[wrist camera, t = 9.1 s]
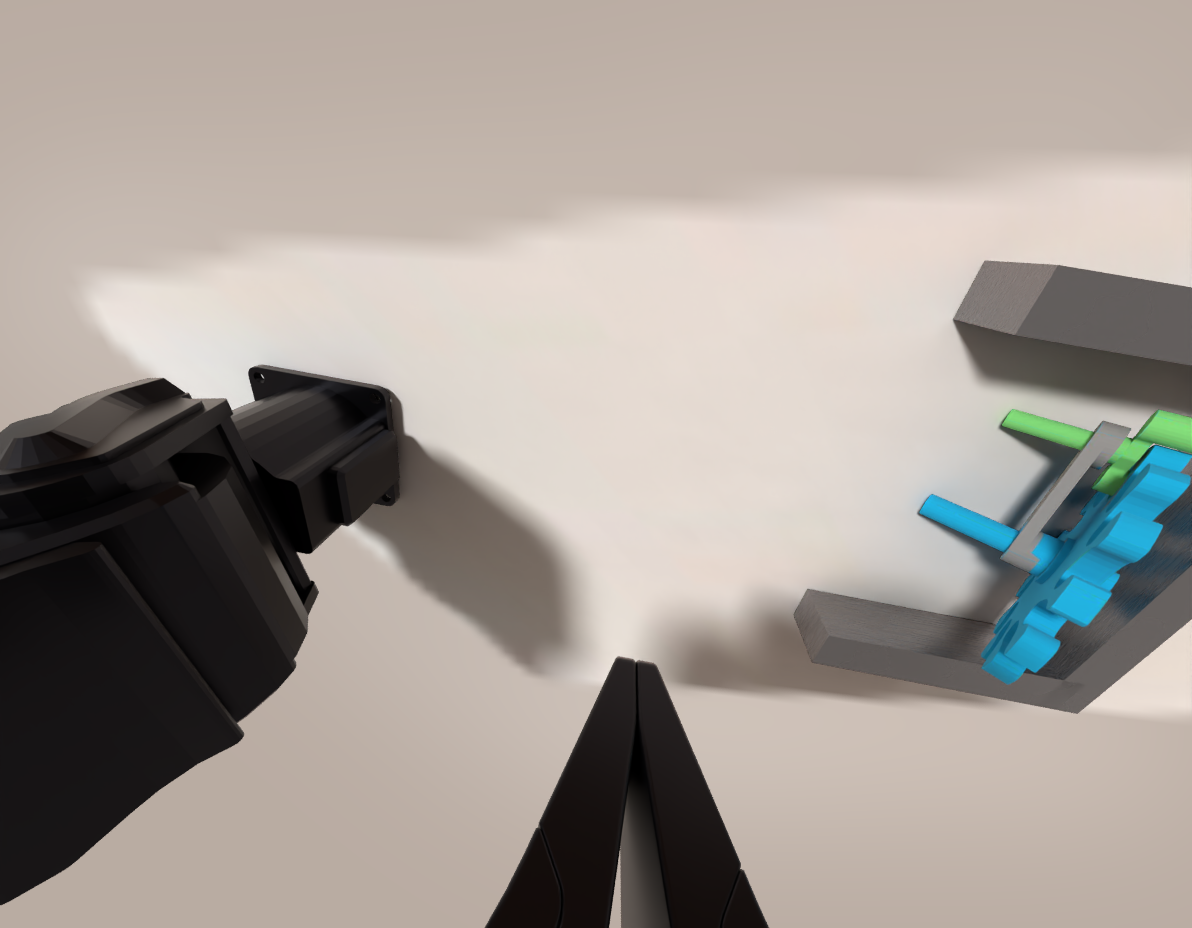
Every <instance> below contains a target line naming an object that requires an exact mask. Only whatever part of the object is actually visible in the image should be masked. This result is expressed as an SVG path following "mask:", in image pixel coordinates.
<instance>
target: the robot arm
mask: <svg viewBox="0 0 1192 928" xmlns="http://www.w3.org/2000/svg"><path fill="white" fill-rule="evenodd" d="M248 374H249V379H250V383H251V387H252V391H253V395H254V399H255V401H254V402H252V403H249V404H247V405H244V406H242V407H239V408H237V409H234V410H231V408H230V406H229V403H228V401H227V399H224V398H221V399H192V398H191V396H190V394H189V393H185V392H183V391H182V390H180V389H179V388H177V387H176V386H175V385H173V384H172V383H170V382H169V381H167V380H166V379H164V378H147V379H143V380H139V381H136V382H132V383H129V384H125V385H121V386H118V387H114V388H111V389H107V390H104V391H100V392H97V393H94V394H91V395H88V396H86V397H83V398H80V399H78V400H76V401H74V402H72V403H70V404H66V405H63V406H61V407H59V408H58V409H57V410H55V411H53V412H52V413H50V414H45V415H41V416H36V417H32V418H28V419H24V420H21V421H17V422H15V423H12V424H10V425H9V426H8V427H7V428H5V429H4V430H3V431H2V432H0V905H3V904H5V903H7V902H9V901H11V900H13V899H14V898H16V897H18V896H20V895H21V894H23V893H25V892H27V891H28V890H30V889H32V888H34V887H35V886H37V885H39V884H41V883H42V882H44V881H46V880H48V879H50V878H51V877H53V876H55V875H56V874H58V873H60V872H62V871H63V870H65V869H66V868H68V867H69V866H71V865H72V864H73V863H74V862H76V861H77V860H78V859H79V858H80V857H81V856H82V855H84V854H85V853H86V852H87V851H88V850H89V849H90V848H91V847H93V846H94V845H95V844H96V843H97V842H98V841H99V840H101V839H102V838H103V837H104V836H105V835H106V834H108V833H109V832H110V831H111V830H112V829H113V828H114V827H116V826H117V825H118V824H119V823H120V822H121V821H122V820H124V819H125V818H126V817H127V816H128V815H129V814H130V813H132V812H133V811H134V810H135V809H136V808H138V807H139V806H140V805H141V804H143V803H144V802H145V801H146V800H148V799H149V798H150V797H151V796H152V795H154V794H155V793H156V792H157V791H159V790H160V789H161V788H163V787H164V786H166V785H167V784H169V783H170V782H171V781H173V780H174V779H176V778H178V777H179V776H181V775H182V774H184V773H185V772H186V771H188V770H189V769H191V768H192V767H194V766H195V765H197V764H198V763H200V762H202V761H204V760H206V759H208V758H210V757H212V756H214V755H216V754H218V753H219V752H222V751H224V750H226V749H228V748H229V747H232V746H233V745H235V744H237V743H238V742H239V741H240V740H241V739H242V738H243V736H244V732H243V731H242V729H241V728H240V727H239V725H238V724H237V723H238V722H239V721H241V720H242V719H244V718H245V717H247V716H248V715H249V714H250V713H251V712H252V711H254V710H255V709H256V708H257V707H258V706H259V705H260V704H262V702H264V701H265V700H266V699H267V698H269V696H271V695H272V694H273V693H274V692H275V691H276V690H277V689H278V688H279V687H280V686H281V685H282V684H283V682H284V681H285V680H286V679H287V678H288V677H289V675H290V674H291V673H292V672H293V671H294V669H295V668H296V661H295V660H294V658H295V657H296V655H297V653H298V651H299V649H300V647H301V644H302V643H303V641H304V639H305V636H306V634H307V630H308V615H309V613H310V610H311V608H312V606H313V604H314V602H315V600H316V598H317V595H318V593H319V591H318V589H317V587H316V585H315V583H314V581H310V579H309V577H308V575H307V573H306V571H305V569H304V567H303V564H302V562H301V560H300V558H299V556H298V554H297V552H300V553H305V554H310V553H312V552H313V551H314V550H315V549H316V548H317V547H318V546H319V545H320V544H322V543H323V542H324V541H325V540H326V539H327V538H328V537H329V536H330V535H331V534H332V533H333V532H334V531H335V530H337V529H338V528H339V527H340V526H341V525H344V526H349V525H351V524H352V523H353V522H355V521H356V520H357V519H358V518H359V517H360V516H361V515H362V514H363V513H364V512H365V511H366V510H367V509H368V508H369V507H370V506H371V505H372V504H373V503H374V504H380V505H385V506H391V505H393V504H394V503H395V502H396V501H397V500H398V499H399V487H398V479H399V478H400V474H399V463H398V452H397V441H396V435H395V433H394V432H393V423H392V412H391V402H390V396H389V393H388V392H387V390H386V389H384V388H383V387H381V386H377V385H372V384H366V383H361V382H355V381H350V380H344V379H339V378H333V377H328V376H322V375H317V374H311V373H306V372H300V371H295V370H289V369H284V368H278V367H273V366H267V365H258V366H255V367H252V368H250V369H249V372H248ZM261 374H262V375H263V377H264V378H262V376H261ZM374 394H377V395H378V396H379V397H380V401H379V400H377V399H376V398H375V395H374ZM386 494H387V495H389V496H390V498H389V497H388V496H387V495H386ZM620 848H621V849H620ZM619 851H620V852H621V853H620V854H621V928H769V927H768V925H767V922H766V921H765V918H764V916H763V914H762V911H761V909H760V907H759V905H758V902H757V900H756V898H755V895H754V893H753V891H752V888H751V886H750V884H749V881H748V879H747V877H746V874H745V872H744V870H742V869H740V867H741V863H740V861H739V858H738V856H737V853H736V851H735V849H734V846H733V844H732V842H731V839H730V837H729V835H728V832H727V830H726V828H725V825H724V823H723V820H722V818H721V816H720V813H719V811H718V809H717V806H716V804H715V802H714V799H713V797H712V795H711V792H710V790H709V788H708V785H707V783H706V780H705V778H704V776H703V774H702V771H701V769H700V766H699V764H698V762H697V759H696V757H695V755H694V752H693V750H692V747H691V745H690V743H689V741H688V738H687V736H686V733H685V731H684V729H683V726H682V724H681V721H680V719H679V717H678V715H677V712H676V710H675V707H674V705H673V703H672V700H671V698H670V696H669V693H668V691H667V688H666V686H665V684H664V681H663V679H662V677H661V674H660V672H659V670H658V668H657V666H656V665H655V664H654V663H650V662H645V661H640V660H638V661H637V662H635V660H633V659H630V658H625V657H617V658H616V659H615V661H614V663H613V665H612V667H611V670H610V672H609V674H608V676H607V678H606V680H605V682H604V685H603V687H602V689H601V691H600V693H599V695H598V697H597V700H596V702H595V704H594V706H593V708H592V710H591V712H590V715H589V717H588V719H587V721H586V723H585V725H584V727H583V730H582V732H581V734H580V736H579V738H578V740H577V743H576V745H575V747H574V749H573V751H572V753H571V755H570V757H569V760H568V762H567V764H566V766H565V768H564V770H563V772H562V774H561V777H560V779H559V781H558V783H557V785H556V787H555V790H554V792H553V794H552V796H551V798H550V800H549V802H548V805H547V807H546V809H545V811H544V813H543V815H542V817H541V819H540V822H539V825H538V828H536V830H535V832H534V834H533V836H532V838H531V840H530V842H529V845H528V847H527V849H526V851H525V853H524V855H523V857H522V859H521V861H520V863H519V865H518V867H517V869H516V871H515V873H514V875H513V877H512V879H511V881H510V883H509V885H508V887H507V889H506V891H505V893H504V894H503V896H502V898H501V900H500V902H499V903H498V905H497V907H496V909H495V910H494V912H493V914H492V916H491V917H490V919H489V921H488V923H487V925H486V926H485V928H609V924H610V916H611V909H612V902H613V895H614V887H615V879H616V872H617V865H618V858H619Z"/></svg>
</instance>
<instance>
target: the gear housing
mask: <svg viewBox="0 0 1192 928" xmlns="http://www.w3.org/2000/svg"><path fill="white" fill-rule="evenodd" d="M954 320H958V321H962V322H965V323H969V324H973V325H977V326H981V327H985V328H989V329H993V330H996V331H1000V332H1004V333H1008V334H1012V335H1016V336H1022V337H1028V338H1034V339H1040V340H1045V341H1051V342H1057V343H1063V344H1069V345H1074V346H1080V347H1086V348H1092V349H1098V350H1103V351H1109V352H1115V353H1121V354H1126V355H1132V356H1138V357H1144V358H1150V359H1155V360H1161V361H1167V362H1173V363H1179V364H1184V365H1190V366H1192V288H1191V287H1185V286H1179V285H1173V284H1168V283H1162V282H1156V281H1150V280H1144V279H1138V278H1132V277H1126V276H1120V275H1114V274H1108V273H1102V272H1096V271H1090V270H1084V269H1078V268H1072V267H1066V266H1060V265H1048V264H1031V263H1015V262H998V261H984V263H983V265H982V267H981V269H980V271H979V272H978V274H977V276H976V278H975V280H974V282H973V284H972V285H971V287H970V289H969V291H968V293H967V295H966V296H965V298H964V300H963V302H962V304H961V306H960V308H959V309H958V311H957V313H956V315H955V317H954ZM1179 451H1180V450H1179ZM1181 452H1184V451H1181ZM1184 453H1188V452H1184ZM1188 454H1191V453H1188ZM1191 455H1192V454H1191ZM1180 473H1183V474H1186V475H1190V477H1191V480H1190V485H1189V486H1188V487H1187V489H1186V490H1185V491H1184V492H1183V493H1182V494H1181V495H1180V496H1179V498H1178V499H1177V500H1175V501H1174V502H1173V503H1172V504H1171V505H1170V506H1168V507H1167V508H1166V509H1165V510H1164V511H1162V512H1161V513H1160V514H1159V515H1158V516H1157V517H1156V518H1155V519H1154V520H1153V522H1156V523H1159V524H1162V525H1163V527H1162V530H1161V532H1160V534H1159V536H1158V538H1157V539H1156V541H1155V543H1154V544H1153V546H1152V547H1151V549H1150V551H1149V552H1148V553H1147V554H1146V555H1145V556H1144V557H1142V558H1141V559H1140V560H1138V561H1137V562H1135V563H1130V564H1127V565H1126V566H1124V567H1122V568H1121V569H1119V570H1118V571H1116V572H1115V573H1117V574H1120V577H1119V579H1118V581H1117V582H1116V584H1115V585H1114V587H1113V588H1112V589H1111V590H1110V592H1111V593H1112V594H1111V596H1110V598H1109V599H1108V601H1107V602H1106V603H1105V605H1104V606H1103V607H1102V609H1101V610H1100V611H1099V612H1098V614H1097V615H1096V616H1095V617H1094V618H1093V620H1092V621H1091V622H1090V623H1089V624H1088V625H1087V626H1085V627H1081V626H1079V625H1077V624H1075V623H1073V622H1071V621H1069V620H1067V621H1066V622H1065V623H1064V624H1063V625H1062V626H1061V628H1060V629H1059V630H1058V632H1057V633H1056V635H1055V637H1054V638H1055V639H1057V640H1059V641H1060V646H1059V648H1058V650H1057V652H1056V653H1055V654H1054V655H1053V657H1052V658H1051V659H1050V660H1049V661H1048V662H1047V663H1046V664H1045V665H1044V666H1043V667H1042V668H1040V669H1039V670H1038V671H1037V672H1036V673H1034V672H1033V671H1031V670H1029V669H1028V668H1026V670H1025V671H1024V673H1023V674H1022V675H1021V677H1020V678H1019V679H1017V680H1016V681H1015V682H1013V683H1011V684H1008V685H1007V684H1006V683H1004V682H1002V681H1001V680H999V679H998V678H996V677H994V676H993V675H991V674H990V673H988V672H986V671H985V670H983V669H981V668H982V666H983V664H984V662H985V661H986V660H985V659H984V658H982V657H981V653H982V652H983V650H984V649H985V648H986V646H987V645H988V644H989V642H990V641H991V640H992V639H993V638H994V637H995V635H996V634H995V633H993V630H994V628H995V626H996V625H995V624H989V623H984V622H979V621H974V620H968V619H963V618H958V617H952V616H947V615H942V614H936V613H931V612H926V611H921V610H915V609H910V608H905V607H899V606H894V605H889V604H884V603H878V602H873V601H868V600H862V599H857V598H852V597H847V596H841V595H836V594H831V593H825V592H820V591H815V590H810V589H807V591H806V593H805V595H804V596H803V598H802V600H801V602H800V604H799V606H798V608H797V609H796V611H795V613H794V618H795V620H796V623H797V625H798V628H799V630H800V633H801V636H802V638H803V641H804V643H805V646H806V648H807V651H808V653H809V656H810V659H811V661H812V663H817V664H822V665H827V666H833V667H838V668H843V669H848V670H853V671H859V672H864V673H869V674H874V675H879V676H884V677H890V678H895V679H900V680H905V681H910V682H915V683H921V684H926V685H931V686H936V687H941V688H947V689H952V690H957V691H962V692H967V693H972V694H978V695H983V696H988V697H993V698H998V699H1003V700H1009V701H1014V702H1019V703H1024V704H1029V705H1035V706H1040V707H1045V708H1050V709H1055V710H1060V711H1066V712H1071V713H1076V714H1078V713H1079V712H1080V711H1081V710H1083V709H1084V708H1085V707H1086V706H1087V705H1089V704H1090V703H1091V702H1092V701H1093V700H1095V699H1096V698H1097V697H1098V696H1100V695H1101V694H1102V693H1103V692H1104V691H1106V690H1107V689H1108V688H1109V687H1110V686H1112V685H1113V684H1114V683H1115V682H1116V681H1118V680H1119V679H1120V678H1121V677H1122V676H1124V675H1125V674H1126V673H1127V672H1129V671H1130V670H1131V669H1132V668H1133V667H1135V666H1136V665H1137V664H1138V663H1139V662H1141V661H1142V660H1143V659H1144V658H1145V657H1147V656H1148V655H1149V654H1150V653H1151V652H1153V651H1154V650H1155V649H1156V648H1157V647H1159V646H1160V645H1161V644H1162V643H1164V642H1165V641H1166V640H1167V639H1168V638H1170V637H1171V636H1172V635H1173V634H1174V633H1176V632H1177V631H1178V630H1179V629H1180V628H1182V627H1183V626H1184V625H1185V624H1186V623H1188V622H1189V621H1190V620H1191V619H1192V458H1191V459H1190V461H1189V462H1188V463H1187V465H1186V466H1185V467H1184V468H1183V470H1182V471H1181V472H1180Z"/></svg>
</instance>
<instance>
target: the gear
mask: <svg viewBox="0 0 1192 928" xmlns="http://www.w3.org/2000/svg"><path fill="white" fill-rule="evenodd" d="M1002 426H1004V427H1007V428H1010V429H1013V430H1017V431H1020V432H1023V433H1026V434H1030V435H1033V436H1036V437H1039V438H1043V439H1046V440H1049V441H1052V442H1055V443H1059V444H1062V445H1065V446H1068V447H1072V448H1075V449H1078V450H1079V452H1078V453H1077V454H1076V456H1075V457H1074V458H1073V460H1072V461H1071V462H1070V464H1069V465H1068V466H1067V468H1066V469H1065V470H1064V472H1063V473H1062V474H1061V476H1060V477H1059V478H1058V480H1057V481H1056V482H1055V484H1054V485H1053V486H1052V488H1051V489H1050V490H1049V492H1048V493H1047V494H1046V496H1045V497H1044V498H1043V500H1042V501H1041V502H1040V504H1039V505H1038V506H1037V508H1036V509H1035V510H1034V512H1033V513H1032V514H1031V516H1030V517H1029V518H1028V520H1027V521H1026V522H1025V524H1024V525H1023V526H1022V528H1021V529H1020V530H1019V531H1017V530H1015V529H1013V528H1010V527H1008V526H1006V525H1003V524H1001V523H999V522H996V521H994V520H992V519H989V518H987V517H985V516H982V515H980V514H978V513H975V512H973V511H971V510H968V509H966V508H964V507H961V506H959V505H957V504H954V503H952V502H950V501H947V500H945V499H943V498H940V497H938V496H936V495H933V494H931V496H930V497H929V498H928V499H927V501H926V502H925V504H924V505H923V507H922V509H921V510H920V514H922V515H924V516H926V517H928V518H930V519H933V520H935V521H937V522H939V523H941V524H943V525H946V526H948V527H950V528H952V529H954V530H956V531H958V532H961V533H963V534H965V535H967V536H969V537H971V538H974V539H976V540H978V541H980V542H982V543H984V544H987V545H989V546H991V547H993V548H995V549H997V550H999V551H1002V552H1003V554H1002V555H1001V557H1000V559H1001V560H1003V561H1005V562H1007V563H1009V564H1011V565H1013V566H1015V567H1018V568H1020V569H1022V570H1024V571H1026V572H1028V573H1030V575H1029V577H1028V578H1027V579H1026V580H1025V582H1024V583H1023V585H1022V586H1021V588H1020V589H1019V591H1018V592H1017V594H1016V596H1017V597H1019V599H1018V600H1017V601H1016V602H1015V603H1014V604H1013V605H1012V607H1011V608H1010V609H1009V610H1007V611H1006V612H1005V613H1004V615H1003V616H1002V617H1001V618H1000V619H999V621H998V622H997V624H996V626H995V628H994V630H993V633H995V634H996V635H995V637H994V638H993V639H992V640H991V641H990V642H989V644H988V645H987V646H986V648H985V649H984V650H983V652H982V653H981V657H982V658H984V659H985V660H986V661H985V662H984V664H983V666H982V668H981V669H983V670H985V671H986V672H988V673H990V674H991V675H993V676H994V677H996V678H998V679H999V680H1001V681H1002V682H1004V683H1006V684H1007V685H1008V684H1011V683H1013V682H1015V681H1016V680H1017V679H1019V678H1020V677H1021V675H1022V674H1023V673H1024V671H1025V670H1026V668H1028V669H1029V670H1031V671H1033V672H1034V673H1036V672H1037V671H1038V670H1039V669H1040V668H1042V667H1043V666H1044V665H1045V664H1046V663H1047V662H1048V661H1049V660H1050V659H1051V658H1052V657H1053V655H1054V654H1055V653H1056V652H1057V650H1058V648H1059V646H1060V641H1059V640H1057V639H1055V638H1054V637H1055V635H1056V633H1057V632H1058V630H1059V629H1060V628H1061V626H1062V625H1063V624H1064V623H1065V622H1066V621H1067V620H1069V621H1071V622H1073V623H1075V624H1077V625H1079V626H1081V627H1085V626H1087V625H1088V624H1089V623H1090V622H1091V621H1092V620H1093V618H1094V617H1095V616H1096V615H1097V614H1098V612H1099V611H1100V610H1101V609H1102V607H1103V606H1104V605H1105V603H1106V602H1107V601H1108V599H1109V598H1110V596H1111V594H1112V593H1111V592H1110V590H1111V589H1112V588H1113V587H1114V585H1115V584H1116V582H1117V581H1118V579H1119V577H1120V574H1117V573H1115V572H1116V571H1118V570H1119V569H1121V568H1122V567H1124V566H1126V565H1127V564H1130V563H1135V562H1137V561H1138V560H1140V559H1141V558H1142V557H1144V556H1145V555H1146V554H1147V553H1148V552H1149V551H1150V549H1151V547H1152V546H1153V544H1154V543H1155V541H1156V539H1157V538H1158V536H1159V534H1160V532H1161V530H1162V527H1163V525H1162V524H1159V523H1156V522H1153V520H1154V519H1155V518H1156V517H1157V516H1158V515H1159V514H1160V513H1161V512H1162V511H1164V510H1165V509H1166V508H1167V507H1168V506H1170V505H1171V504H1172V503H1173V502H1174V501H1175V500H1177V499H1178V498H1179V496H1180V495H1181V494H1182V493H1183V492H1184V491H1185V490H1186V489H1187V487H1188V486H1189V485H1190V480H1191V477H1190V475H1186V474H1183V473H1180V472H1181V471H1182V470H1183V468H1184V467H1185V466H1186V465H1187V463H1188V462H1189V461H1190V459H1191V458H1192V455H1191V454H1192V418H1191V417H1187V416H1183V415H1179V414H1175V413H1170V412H1166V411H1162V410H1157V411H1156V412H1155V413H1154V414H1153V415H1152V416H1151V417H1150V418H1149V419H1148V420H1147V422H1146V423H1145V424H1144V425H1143V427H1142V428H1141V429H1140V431H1139V432H1138V433H1137V435H1136V436H1135V437H1134V438H1133V439H1132V438H1128V437H1127V436H1128V434H1129V432H1130V431H1131V428H1128V427H1124V426H1121V425H1117V424H1113V423H1109V422H1106V421H1102V422H1101V423H1100V425H1099V426H1098V427H1097V428H1096V429H1095V431H1094V432H1092V431H1088V430H1085V429H1081V428H1078V427H1074V426H1071V425H1067V424H1064V423H1060V422H1057V421H1053V420H1050V419H1046V418H1043V417H1039V416H1036V415H1032V414H1029V413H1025V412H1022V411H1018V410H1015V409H1012V411H1011V412H1010V413H1009V415H1008V416H1007V418H1006V419H1005V421H1004V422H1003V424H1002ZM1153 443H1155V444H1159V445H1162V446H1159V445H1154V446H1152V447H1150V446H1151V445H1152V444H1153ZM1163 446H1166V447H1170V448H1173V449H1177V450H1180V451H1177V450H1173V449H1170V448H1166V447H1163ZM1149 447H1150V448H1149ZM1148 448H1149V449H1148ZM1181 451H1184V452H1188V453H1191V454H1188V453H1184V452H1181ZM1106 462H1107V463H1110V465H1109V466H1108V467H1107V468H1106V469H1105V470H1104V471H1103V472H1102V474H1101V475H1100V476H1099V477H1098V479H1097V480H1096V481H1095V483H1094V484H1093V486H1092V488H1091V489H1093V490H1096V491H1097V492H1096V494H1095V495H1094V496H1093V497H1092V498H1091V499H1090V501H1089V502H1088V503H1087V504H1086V505H1085V507H1084V508H1083V509H1082V511H1081V513H1080V515H1083V518H1082V519H1081V521H1080V522H1079V523H1078V524H1077V525H1076V527H1075V528H1074V529H1073V530H1071V531H1070V532H1069V531H1066V530H1064V531H1063V532H1062V533H1061V535H1060V536H1059V537H1058V538H1054V537H1052V536H1050V535H1047V534H1045V533H1042V532H1040V531H1041V529H1042V528H1043V527H1044V525H1045V524H1046V523H1047V521H1048V520H1049V519H1050V518H1051V516H1052V515H1053V514H1054V512H1055V511H1056V510H1057V509H1058V507H1059V506H1060V505H1061V503H1062V502H1063V501H1064V499H1065V498H1066V497H1067V496H1068V494H1069V493H1070V492H1071V490H1072V489H1073V488H1074V486H1075V485H1076V484H1077V483H1078V481H1079V480H1080V479H1081V477H1082V476H1083V475H1084V474H1085V472H1086V471H1087V470H1088V468H1089V467H1092V468H1095V469H1098V470H1099V469H1101V468H1102V467H1103V466H1104V465H1105V464H1106Z"/></svg>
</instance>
